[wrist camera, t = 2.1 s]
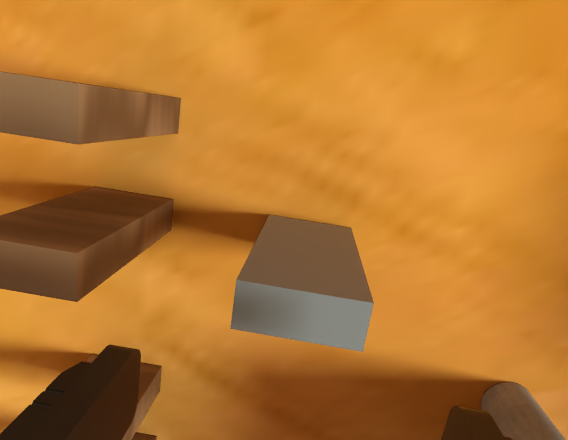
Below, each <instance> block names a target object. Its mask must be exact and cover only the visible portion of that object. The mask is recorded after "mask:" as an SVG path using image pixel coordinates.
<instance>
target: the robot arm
mask: <svg viewBox="0 0 568 440" xmlns="http://www.w3.org/2000/svg"><path fill="white" fill-rule="evenodd" d="M140 361H141V354H140V351H139V350H138V349H133V348H127V347H121V346H115V345H108V346H107V347H106V348H105V349H104V350H103V351H102V352H101V353H100V354H99V355H98V356H97V358H96V359H95V360H94V361H93V362H92V363H89V362H83V361H82V362H80V363H79V364H77V365H75V366H73V367H71V368H69V369H68V370H66V371H64V372H62V373H61V374H60V375H59V376H58V377H57V378H56V379H55V380H54V381H53V382H52V383H51V384H50V385H49V386H48V387H47V388H46V390H45V392H44V391H43V392H42V393H41V394H40V395H39V396H38V397H37V398H36V399H35V400H34V401H33V403H32V405H29V406H28V407H27V408H26V409H25V410H24V411H23V412H22V413H21V414H20V415H19V416H18V417H17V418H16V419H15V420H14V421H13V422H12V423H11V424H10V425H9V426H8V427H7V428H6V429H5V430H4V431H3V432H2V433H1V434H0V440H122V439H123V437H124V435H125V434H126V432H127V431H128V429H129V427H130V425H131V423H132V421H133V418H134V416H135V412H136V409H137V404H138V395H139V378H140ZM442 440H512V439H511V438H510V437H505V436H503V434H502V433H501V431H500V429H499V428H498V426H497V424H496V423H495V421H494V419H493V418H492V416H491V415H490V413H489V412H487V411H484V410H479V409H473V408H467V407H461V406H453V407H452V409H451V410H450V413H449V416H448V420H447V423H446V426H445V430H444V433H443V436H442Z"/></svg>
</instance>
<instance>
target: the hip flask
mask: <svg viewBox="0 0 568 440" xmlns="http://www.w3.org/2000/svg"><path fill="white" fill-rule="evenodd" d="M481 408H482V410H484V411H487V412H489V413H490V415H491V416H492V418H493V419H494V421H495V423H496V424H497V426H498V428H499V429H500V431H501V433H502V434H503V436H505V437H510V438H511V439H512V440H566V439H565V438H564V437H563V436H562V434H561V433H560V432H559V430H558V429H557V428H556V426H555V425H554V424H553V423H552V421H551V420H550V419H549V417H548V416H547V415H546V413H545V412H544V411H543V410H542V408H541V407H540V406H539V404H538V403H537V402H536V400H535V399H534V398H533V397H532V395H531V394H530V393H529V391H528V390H527V389H526V388H525V387H523V386H522V385H520V384H517V383H512V382H504V383H499V384H496V385H494V386H492V387H491V388H489V389H488V390H487V391H486V392H485V394H484V395H483V397H482V400H481Z"/></svg>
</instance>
